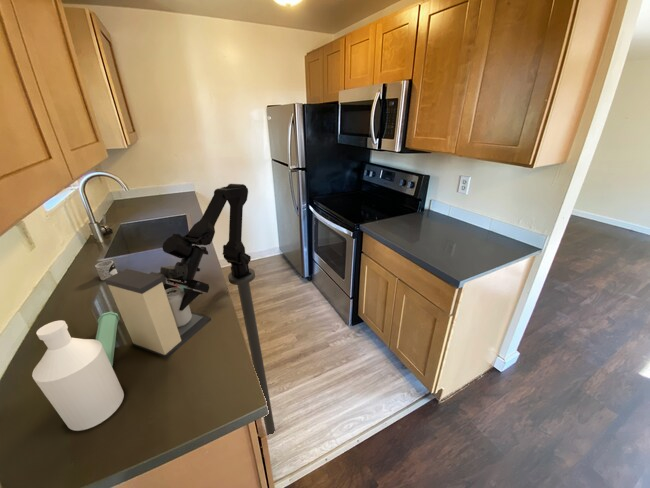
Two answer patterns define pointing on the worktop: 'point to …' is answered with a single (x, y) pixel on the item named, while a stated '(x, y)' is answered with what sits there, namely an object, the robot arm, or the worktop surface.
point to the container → (108, 333)
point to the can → (178, 306)
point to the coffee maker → (150, 312)
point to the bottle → (77, 377)
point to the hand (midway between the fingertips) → (172, 308)
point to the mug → (106, 269)
